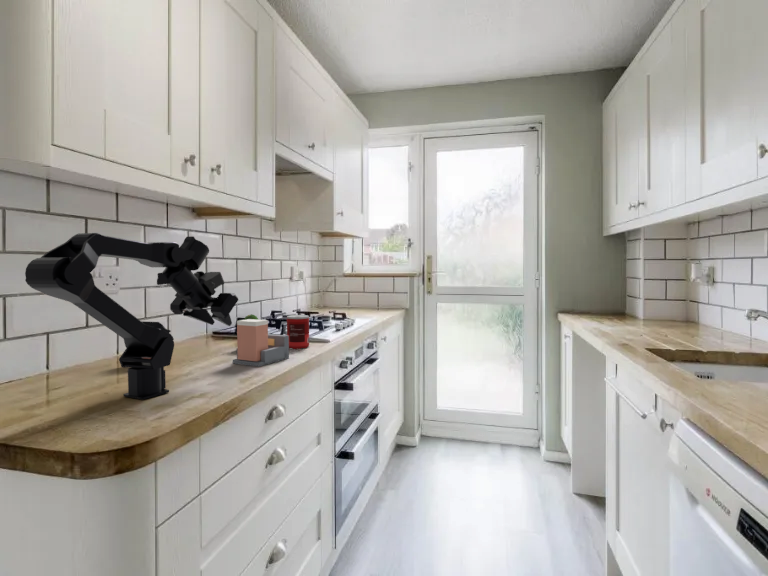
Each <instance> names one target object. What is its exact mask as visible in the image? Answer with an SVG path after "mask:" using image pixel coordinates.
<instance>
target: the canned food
mask: <svg viewBox="0 0 768 576" xmlns="http://www.w3.org/2000/svg"><path fill="white" fill-rule="evenodd" d="M286 335H288V336H289V349H290V348H293V349H292V350H302V349H301V348H304V349H307V347H308V348H309V346H310V316H309V315H308V314H307V315H306V314H293V315H287V316H286Z"/></svg>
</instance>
